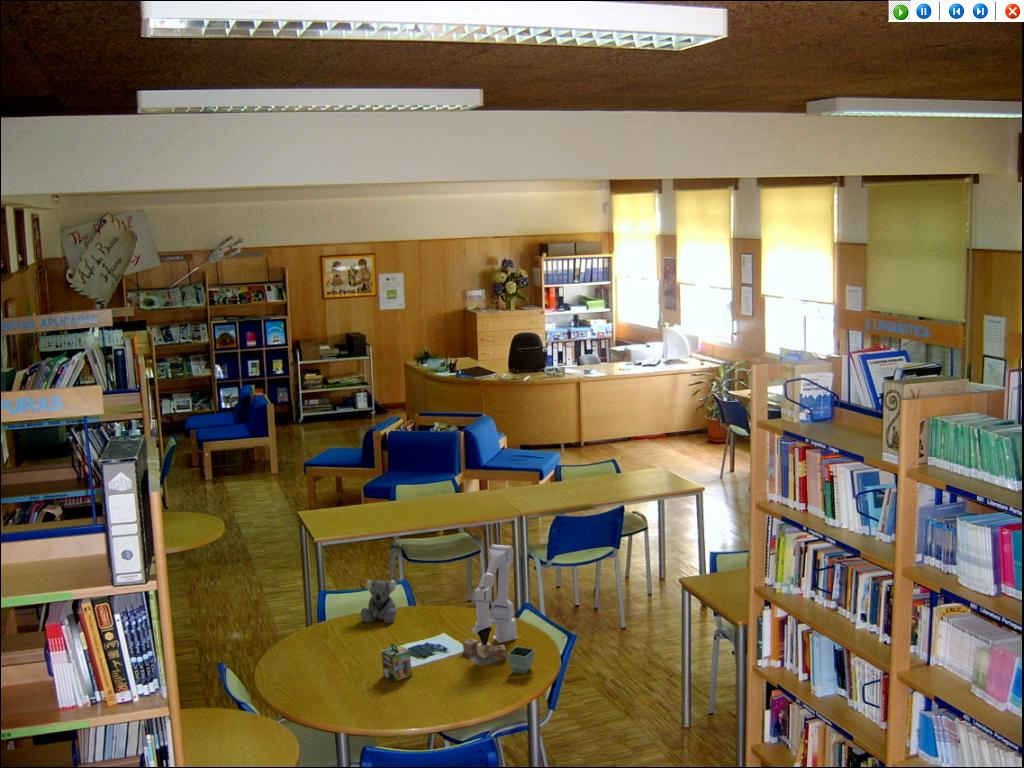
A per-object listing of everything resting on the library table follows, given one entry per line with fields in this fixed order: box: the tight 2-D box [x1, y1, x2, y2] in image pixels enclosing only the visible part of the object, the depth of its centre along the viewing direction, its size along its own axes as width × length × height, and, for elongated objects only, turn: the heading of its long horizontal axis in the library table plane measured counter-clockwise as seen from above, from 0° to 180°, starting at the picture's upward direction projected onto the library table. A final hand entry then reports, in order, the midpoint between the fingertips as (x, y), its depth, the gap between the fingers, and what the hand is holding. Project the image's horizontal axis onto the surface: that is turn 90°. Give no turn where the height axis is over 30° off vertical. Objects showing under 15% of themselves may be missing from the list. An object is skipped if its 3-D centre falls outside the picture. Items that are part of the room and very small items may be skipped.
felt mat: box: [462, 644, 509, 667], centre depth 482 cm, size 15×18×1 cm
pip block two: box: [462, 638, 480, 655], centre depth 486 cm, size 5×5×5 cm
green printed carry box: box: [381, 642, 413, 683], centre depth 464 cm, size 9×9×15 cm
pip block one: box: [493, 644, 507, 662], centre depth 477 cm, size 5×5×5 cm
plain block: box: [477, 641, 493, 658], centre depth 482 cm, size 5×5×5 cm
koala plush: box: [360, 578, 397, 624], centre depth 532 cm, size 17×18×20 cm
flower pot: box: [507, 646, 535, 674], centre depth 464 cm, size 9×9×9 cm
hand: (484, 643), depth 481 cm, fingers closed
